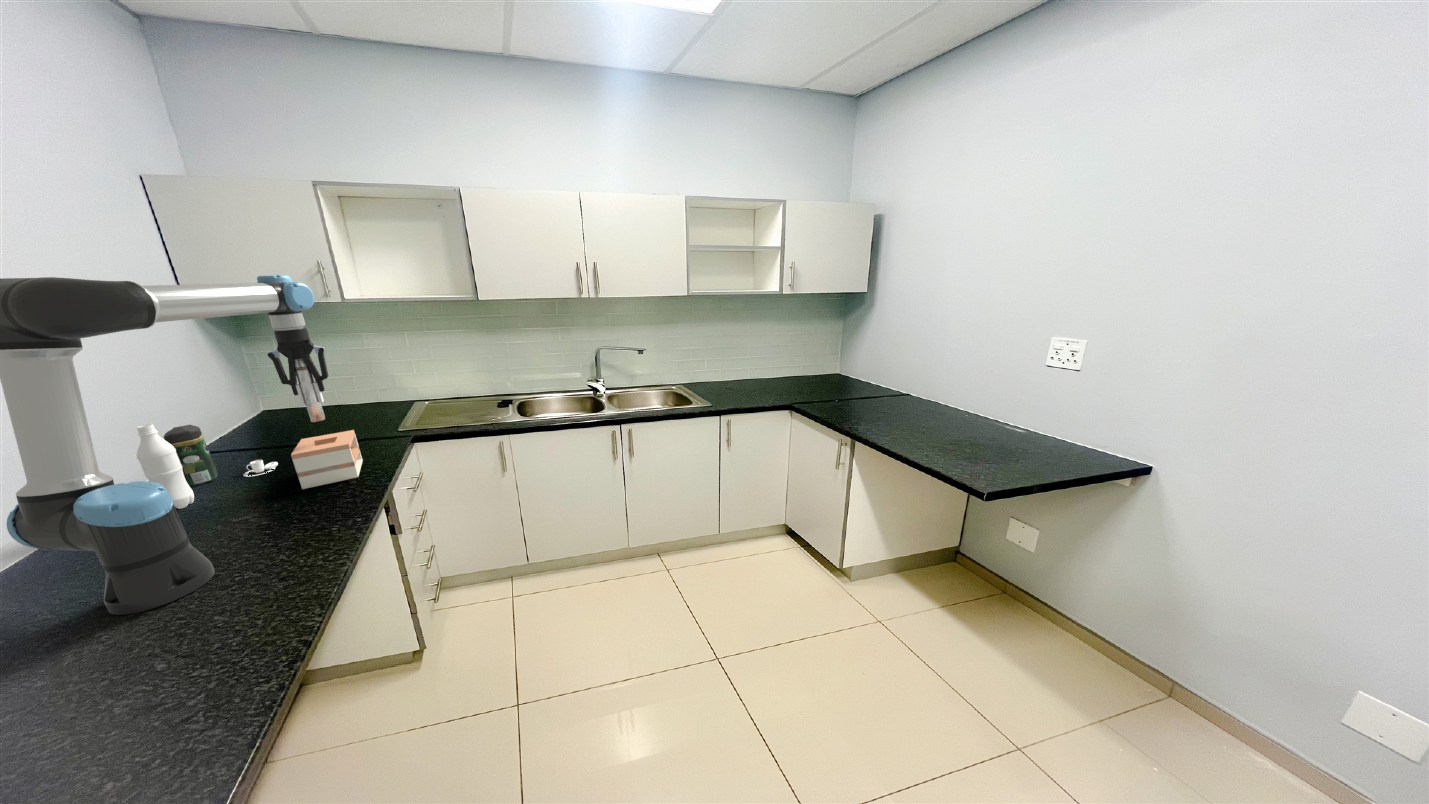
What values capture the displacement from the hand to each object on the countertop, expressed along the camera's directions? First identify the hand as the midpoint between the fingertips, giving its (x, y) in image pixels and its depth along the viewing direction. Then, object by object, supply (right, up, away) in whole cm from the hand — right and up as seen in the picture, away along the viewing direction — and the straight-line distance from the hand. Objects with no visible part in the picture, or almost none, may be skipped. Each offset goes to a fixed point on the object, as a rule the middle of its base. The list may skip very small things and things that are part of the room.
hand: (313, 403), depth 146 cm
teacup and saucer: (-25, -24, +12) cm, 36 cm away
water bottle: (-30, -30, -11) cm, 44 cm away
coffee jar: (-42, -26, +6) cm, 49 cm away
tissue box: (+1, -23, +7) cm, 24 cm away
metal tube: (0, -5, +2) cm, 6 cm away
